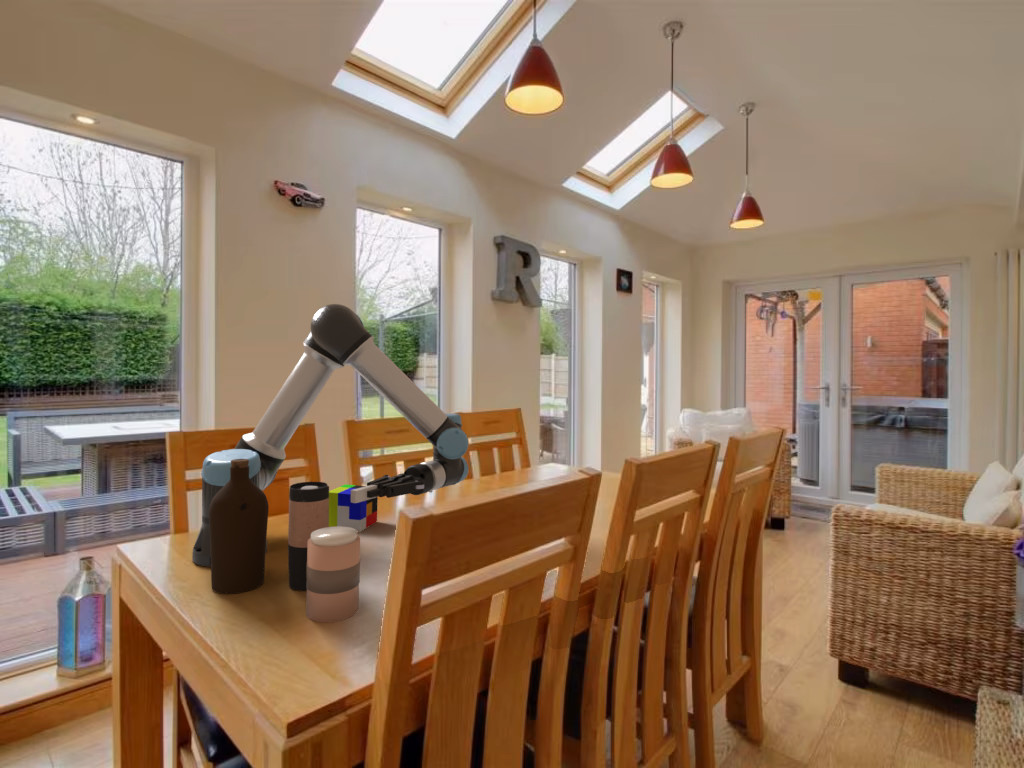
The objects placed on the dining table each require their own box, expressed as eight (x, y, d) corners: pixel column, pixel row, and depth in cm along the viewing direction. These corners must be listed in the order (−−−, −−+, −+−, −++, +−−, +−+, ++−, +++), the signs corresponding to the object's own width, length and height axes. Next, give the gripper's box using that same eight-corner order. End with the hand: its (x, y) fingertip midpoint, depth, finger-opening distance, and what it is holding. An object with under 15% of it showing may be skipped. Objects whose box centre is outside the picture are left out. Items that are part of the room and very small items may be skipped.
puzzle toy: (360, 532, 143) (361, 495, 143) (325, 529, 145) (326, 492, 145) (376, 522, 153) (377, 487, 153) (344, 519, 155) (345, 484, 155)
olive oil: (279, 580, 111) (281, 458, 110) (233, 600, 101) (235, 467, 100) (242, 570, 115) (244, 453, 114) (195, 588, 105) (196, 461, 105)
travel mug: (278, 588, 107) (280, 487, 106) (304, 574, 114) (306, 480, 114) (311, 593, 105) (313, 491, 104) (335, 579, 112) (337, 483, 111)
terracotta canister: (298, 622, 93) (300, 541, 93) (314, 599, 102) (315, 525, 102) (353, 622, 94) (354, 541, 93) (363, 599, 103) (365, 525, 103)
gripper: (443, 495, 135) (374, 518, 115) (404, 489, 142) (332, 509, 122) (444, 466, 135) (375, 483, 115) (404, 460, 141) (332, 476, 121)
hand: (353, 496), depth 118 cm, fingers closed
